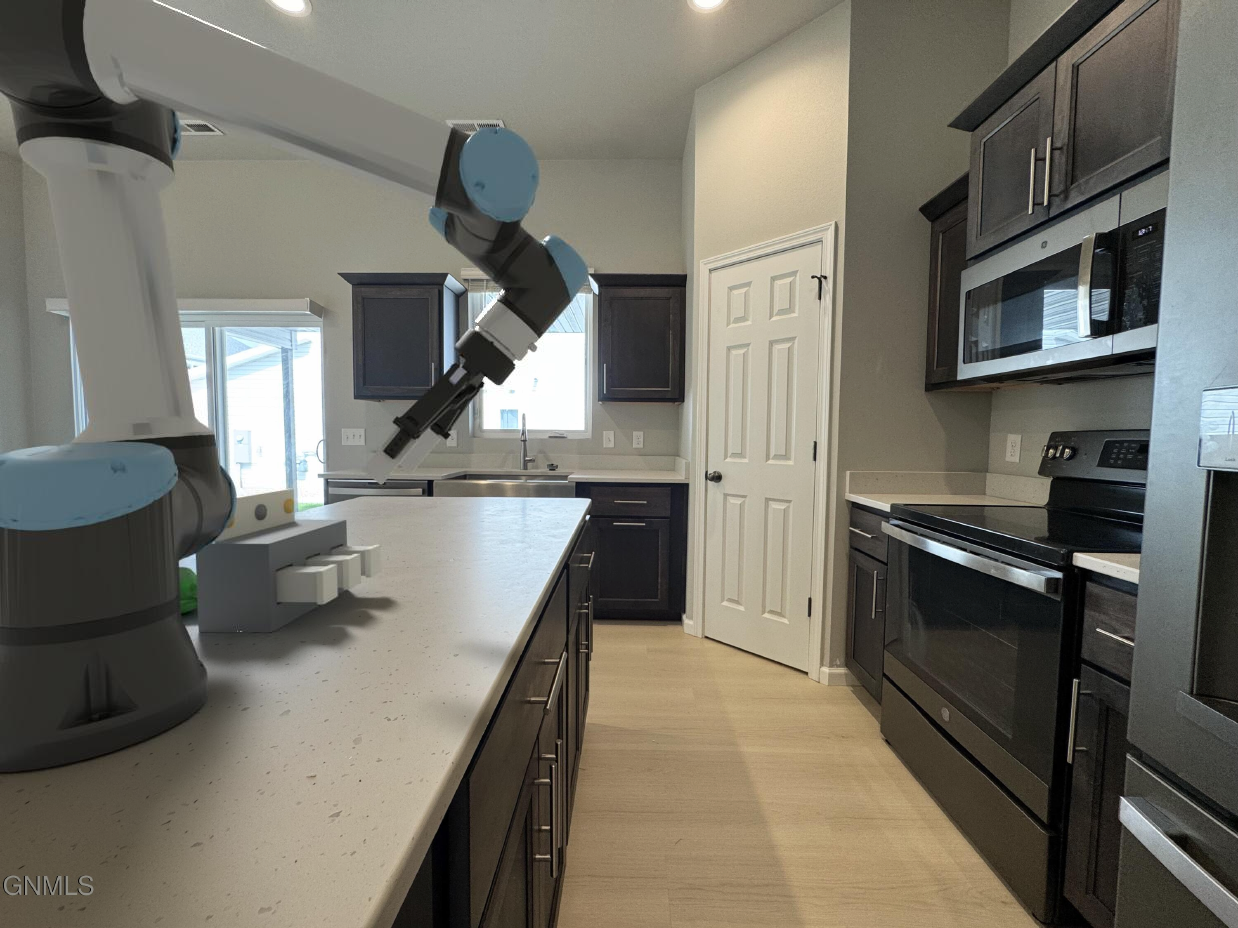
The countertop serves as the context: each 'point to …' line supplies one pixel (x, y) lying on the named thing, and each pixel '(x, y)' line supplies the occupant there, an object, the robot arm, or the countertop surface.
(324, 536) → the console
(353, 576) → the button middle
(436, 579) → the countertop surface
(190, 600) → the snack package
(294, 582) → the button near
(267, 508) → the pattern sign
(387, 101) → the robot arm
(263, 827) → the countertop surface
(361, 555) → the button far
